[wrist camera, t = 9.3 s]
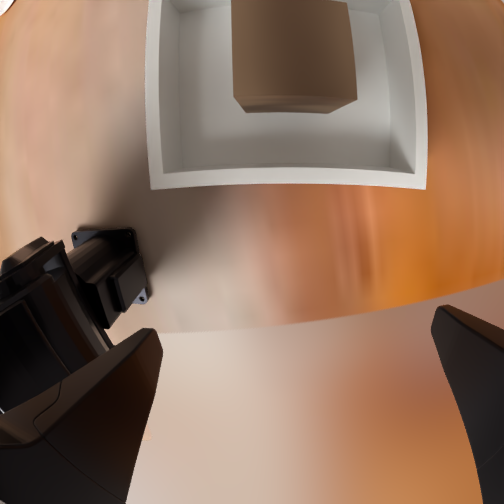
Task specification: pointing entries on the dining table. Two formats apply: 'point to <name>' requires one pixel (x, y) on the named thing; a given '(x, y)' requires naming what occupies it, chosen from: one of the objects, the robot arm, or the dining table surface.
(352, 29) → the bin
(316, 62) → the walnut block
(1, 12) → the spread jar
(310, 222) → the dining table surface
